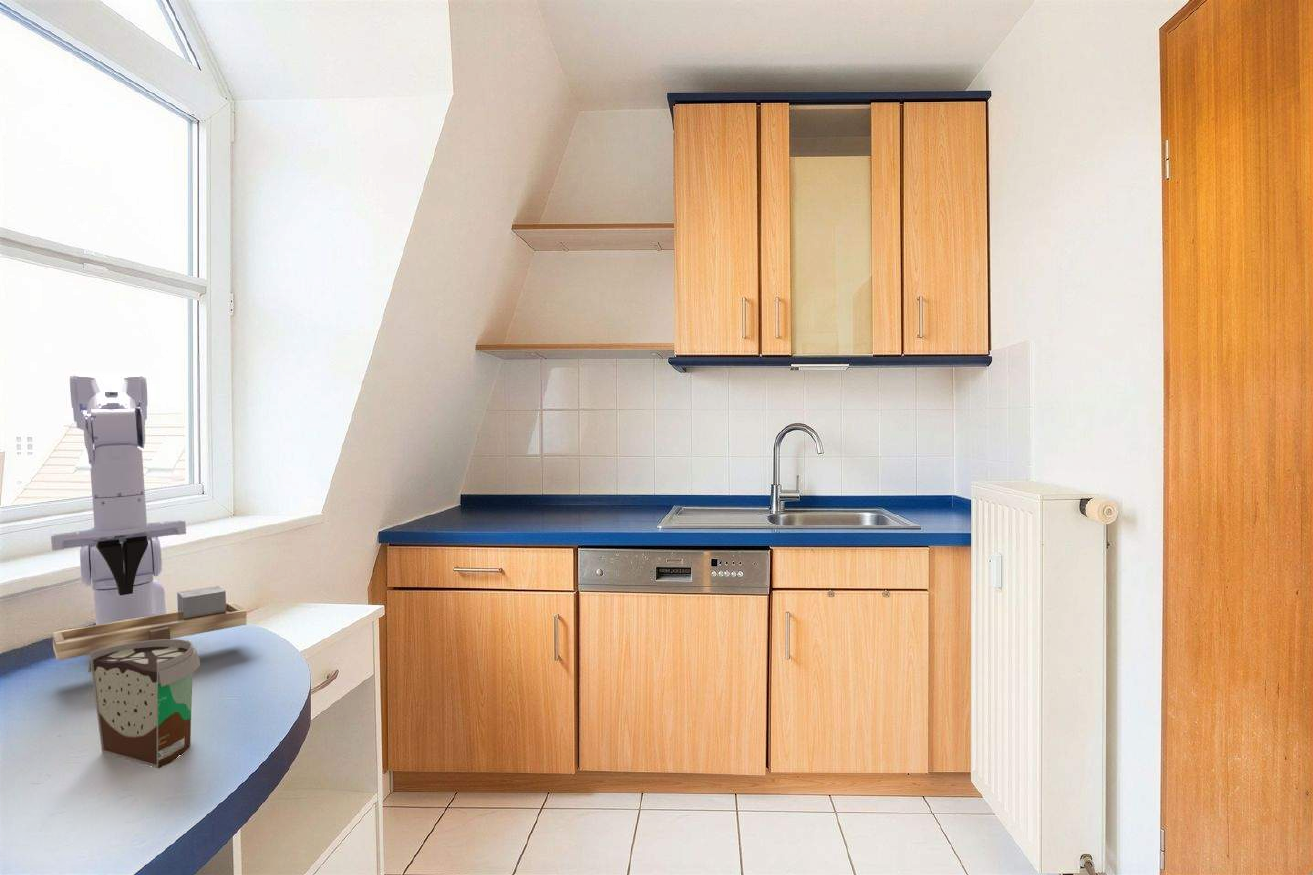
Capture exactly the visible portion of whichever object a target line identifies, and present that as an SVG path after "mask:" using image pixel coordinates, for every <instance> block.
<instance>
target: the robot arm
mask: <svg viewBox="0 0 1313 875" xmlns="http://www.w3.org/2000/svg"><path fill="white" fill-rule="evenodd" d="M147 386H148V383H147V377H146V375H145V374H143V373H142V372H139V371H137V373H136V372H135V373H129V372H128V373H123V372H122V373H121V372H119V373H116V372H112V373H110V372H106V373H104V372H101V373H100V372H99V373H98V372H97V373H96V372H78V371H73V372H72V373H71V374H70V375H69V389H70V390H69V391H70V401H71V408H72V412H73V421H74V422H75V425H76V428H77V429H80V430H81V431H83V438H84V446H85V449H86V453H87V457H88V458H87V459H88V464H89V465H90V466H91V468H90V469H89V470H90V481H91V482H90V484H91V496H92V510H93V527H92V528H90V529H86V530H79V531H70V532H64V533H63V532H62V533H56V534H50V541H51V542H50V543H51V550H52V551H60V550H64V549H72V548H79V547H80V549H79V560H80V564H79V565H80V577H81V583H82V584H83V585H84V586H86V587H91V589H92V591H93V600H94V614H95V615H94V616H95V625H99V624H105V623H111V622H117V621H123V620H129V619H135V618H140V617H146V616H151V615H158V614H164V613H167V608H166V595H165V589H164V587H163V585H162V584H161V583H160V582H159V581H158V580H157V579H154V577H159V576H160V574H161V573H162V572H163V568H162V565H163V564H162V549H161V547H162V546H161V543H160V541H161V540H160V539H159V537H167V536H181V535H186V534H187V526H186V520H183V519H179V520H169V521H159V522H158V521H157V522H149V523H148V522H147V521H148V520H147V519H148V518H147V506H146V493H145V477H144V476H145V474H144V459H143V450H141V449H145V443H146V427H145V426H146V420H148V411H147V410H148V408H147V407H148V387H147ZM140 448H141V449H140Z"/></svg>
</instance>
